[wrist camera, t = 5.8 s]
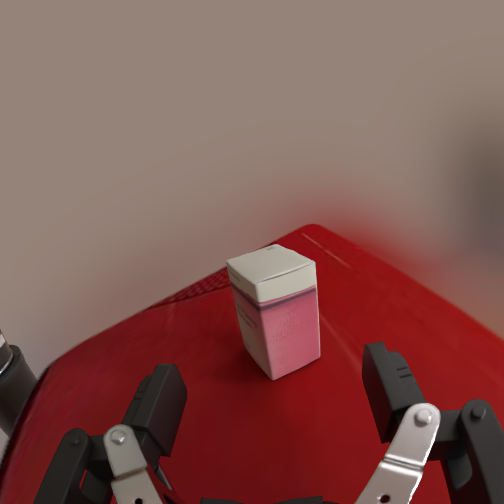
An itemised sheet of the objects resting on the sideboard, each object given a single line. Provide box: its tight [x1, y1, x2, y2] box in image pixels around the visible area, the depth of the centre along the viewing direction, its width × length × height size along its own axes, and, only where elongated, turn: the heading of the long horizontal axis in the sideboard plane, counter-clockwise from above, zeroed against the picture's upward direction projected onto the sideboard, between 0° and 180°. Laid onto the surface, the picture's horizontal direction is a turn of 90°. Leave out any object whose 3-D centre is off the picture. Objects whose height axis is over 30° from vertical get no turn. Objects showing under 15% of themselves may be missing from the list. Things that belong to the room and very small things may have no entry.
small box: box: [226, 244, 320, 380], centre depth 20 cm, size 5×4×8 cm
